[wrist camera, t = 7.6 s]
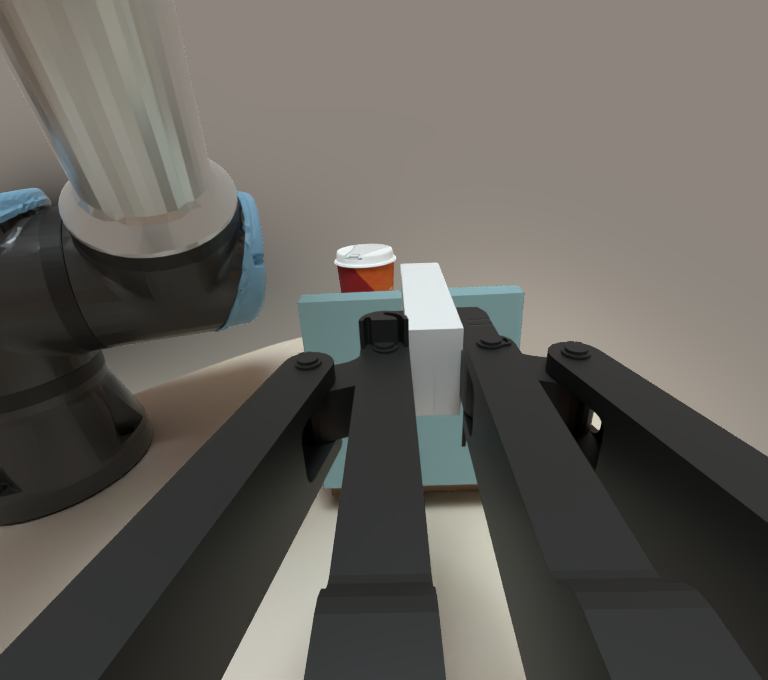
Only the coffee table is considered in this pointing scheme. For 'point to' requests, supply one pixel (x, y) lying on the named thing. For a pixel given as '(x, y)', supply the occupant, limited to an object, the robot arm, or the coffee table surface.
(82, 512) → the coffee table surface
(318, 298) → the teal l-shaped piece
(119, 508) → the coffee table surface
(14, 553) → the coffee table surface
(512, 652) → the coffee table surface
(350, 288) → the pill bottle
